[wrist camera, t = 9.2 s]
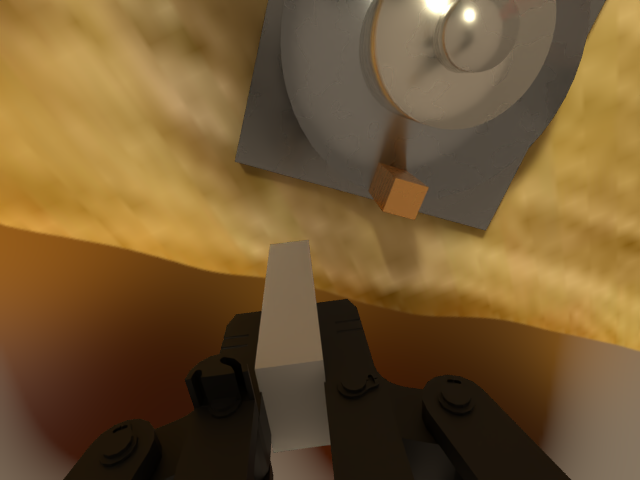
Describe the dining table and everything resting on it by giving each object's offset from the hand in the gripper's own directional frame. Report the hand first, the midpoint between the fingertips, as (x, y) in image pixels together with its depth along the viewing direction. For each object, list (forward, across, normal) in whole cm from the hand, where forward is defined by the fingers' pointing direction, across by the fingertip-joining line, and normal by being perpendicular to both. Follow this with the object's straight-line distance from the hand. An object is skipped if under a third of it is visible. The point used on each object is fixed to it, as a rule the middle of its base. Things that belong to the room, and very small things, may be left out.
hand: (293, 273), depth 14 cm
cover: (+10, +9, +8) cm, 16 cm away
